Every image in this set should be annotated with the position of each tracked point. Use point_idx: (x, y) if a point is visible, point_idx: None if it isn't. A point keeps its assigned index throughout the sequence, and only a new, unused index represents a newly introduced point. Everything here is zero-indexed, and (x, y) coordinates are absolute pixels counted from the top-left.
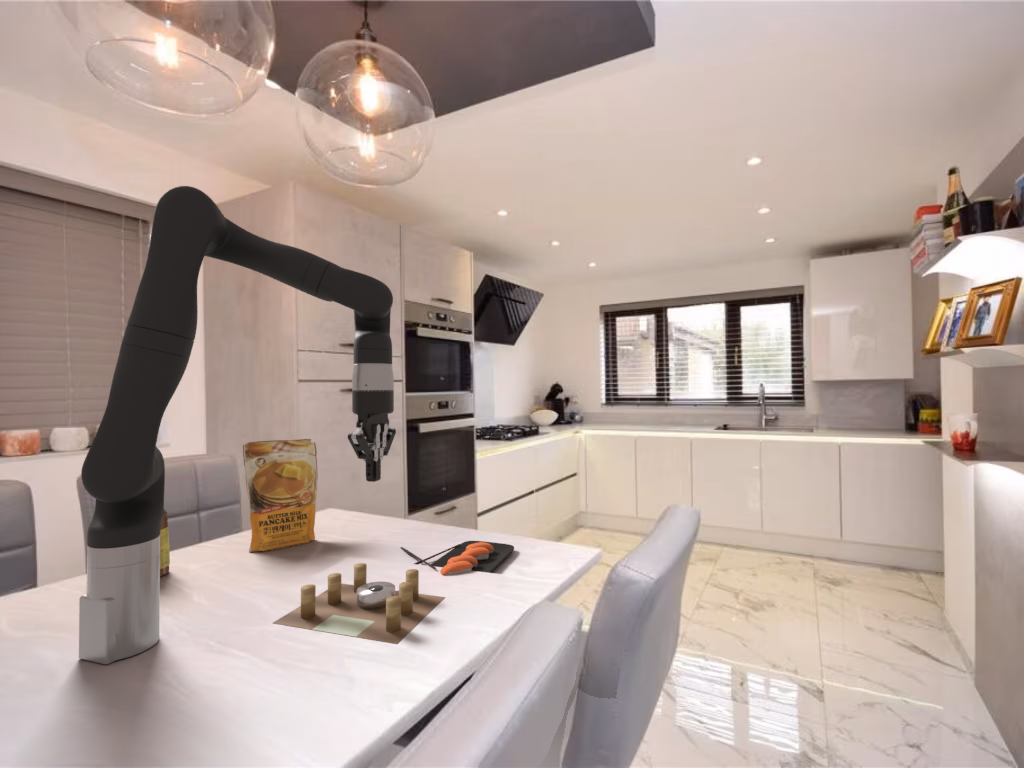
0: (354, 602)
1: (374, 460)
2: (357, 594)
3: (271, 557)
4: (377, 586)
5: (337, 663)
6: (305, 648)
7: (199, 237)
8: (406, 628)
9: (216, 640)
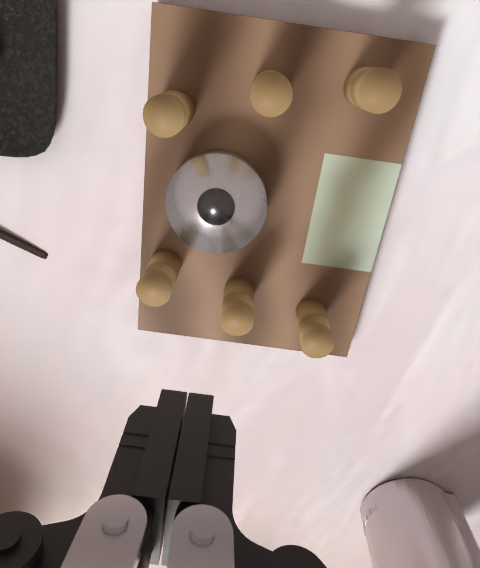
0: None
1: (226, 521)
2: (251, 240)
3: None
4: (205, 207)
5: (464, 166)
6: (404, 257)
7: None
8: (357, 51)
9: (378, 411)
